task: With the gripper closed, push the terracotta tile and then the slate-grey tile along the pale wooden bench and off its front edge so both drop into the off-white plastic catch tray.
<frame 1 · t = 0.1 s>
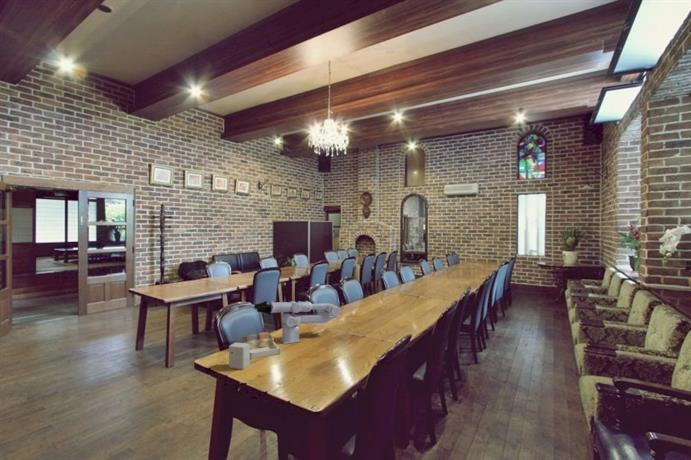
hand: (255, 308, 187), 22 cm above the table, tool horizontal, fingers open, 7 cm apart
small box: (239, 366, 160), on the table
catch tray: (262, 352, 177), on the table
bench plate: (257, 345, 188), on the table
terracotta tile: (263, 337, 190), point 4 cm above the table, touching bench plate
slate tile: (251, 339, 187), point 4 cm above the table, touching bench plate
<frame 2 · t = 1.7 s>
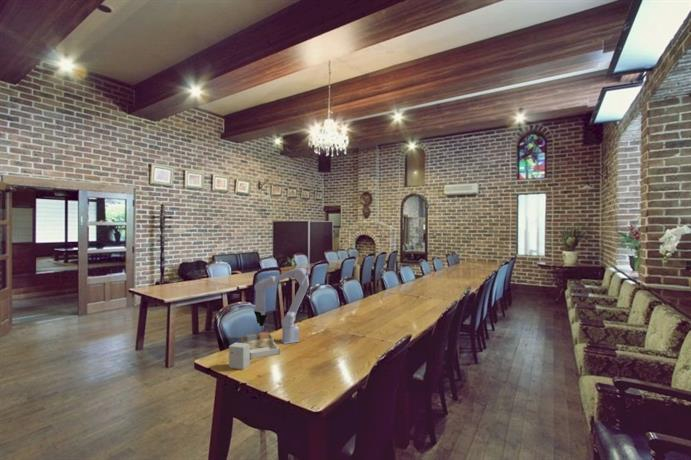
hand: (260, 324, 197), 9 cm above the table, tool pointing down, fingers open, 6 cm apart
nothing on the table moved.
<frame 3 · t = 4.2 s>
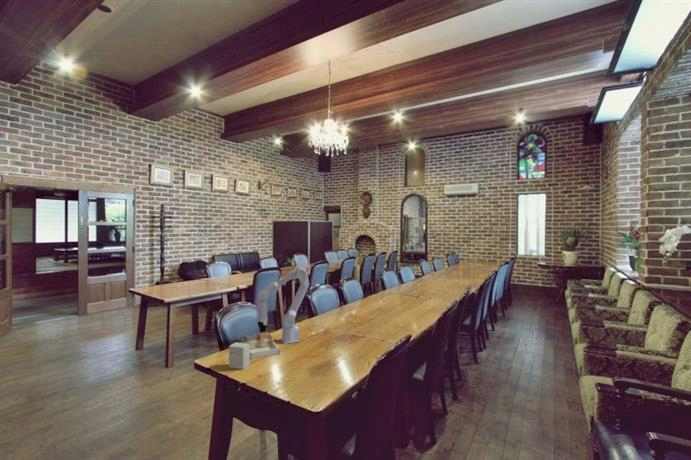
hand: (262, 334, 192), 5 cm above the table, tool pointing down, fingers closed
terracotta tile: (263, 337, 189), point 4 cm above the table, touching bench plate, gripper
everything else where it was.
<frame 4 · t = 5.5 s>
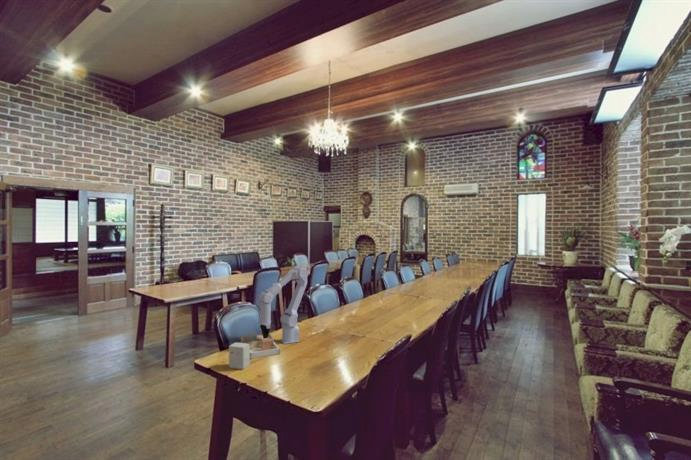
hand: (265, 338, 186), 5 cm above the table, tool pointing down, fingers closed
terracotta tile: (266, 343, 182), point 3 cm above the table, tilted 97°, touching catch tray
everything else where it was.
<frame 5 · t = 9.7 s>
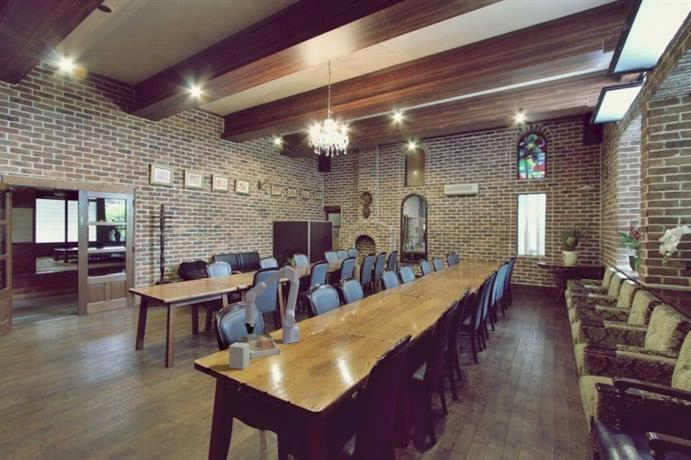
hand: (250, 336, 189), 5 cm above the table, tool pointing down, fingers closed
terracotta tile: (265, 344, 182), point 3 cm above the table, tilted 90°, touching catch tray
slate tile: (251, 339, 186), point 4 cm above the table, touching gripper
everything else where it was.
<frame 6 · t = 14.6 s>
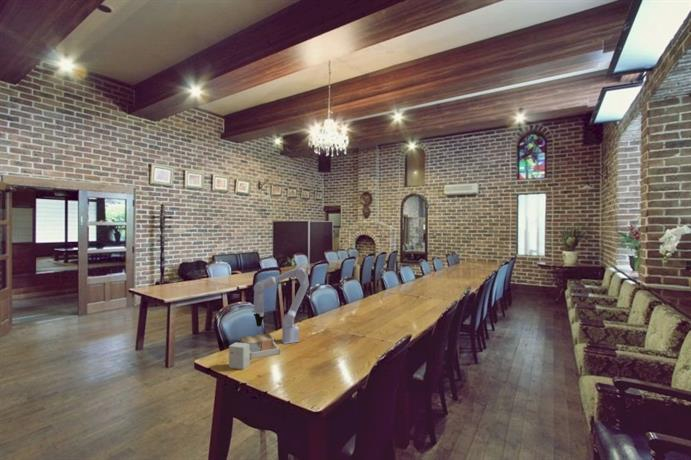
hand: (258, 326, 194), 9 cm above the table, tool pointing down, fingers closed
slate tile: (254, 350, 179), resting on catch tray
everything else where it was.
at the end: terracotta tile inside the target area on the catch tray (4.9 cm from its centre), point 3.0 cm above the catch tray's base; slate tile inside the target area on the catch tray (5.2 cm from its centre), point 0.5 cm above the catch tray's base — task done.
